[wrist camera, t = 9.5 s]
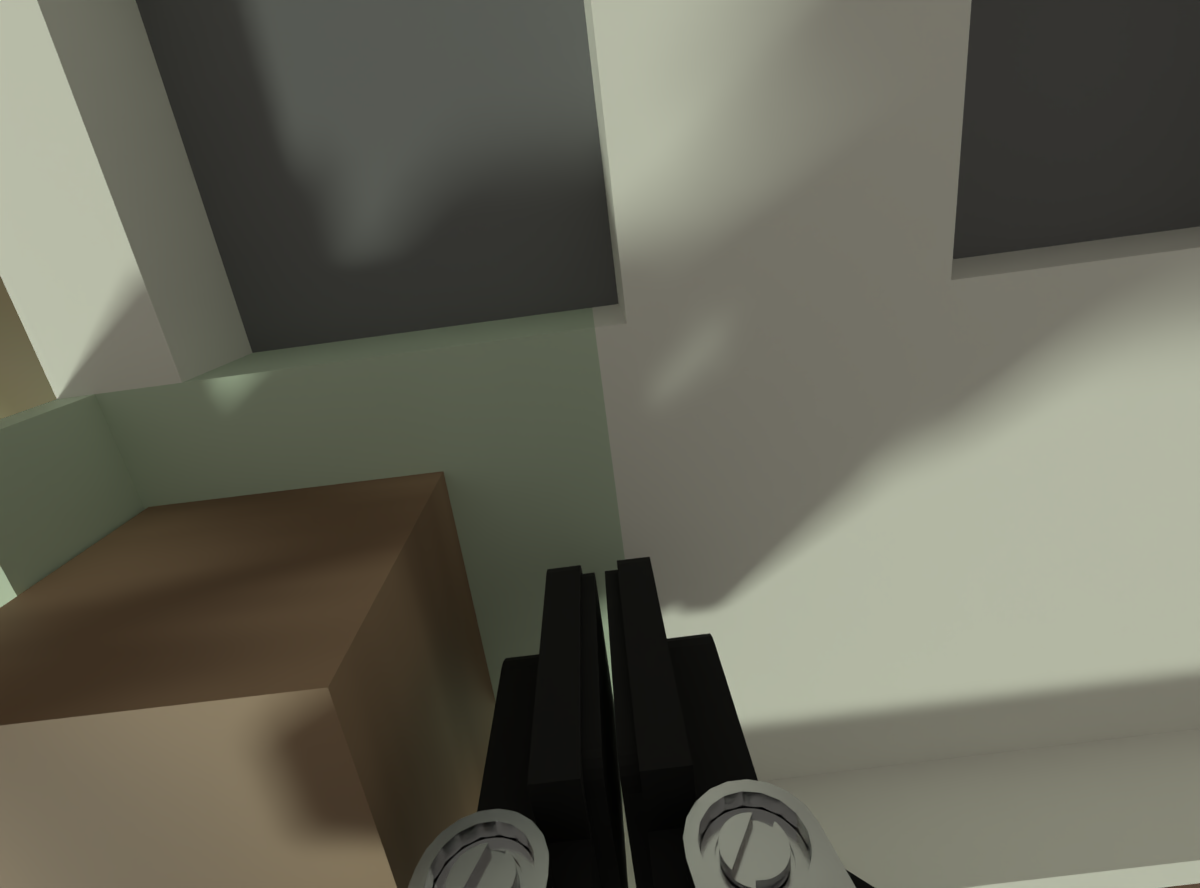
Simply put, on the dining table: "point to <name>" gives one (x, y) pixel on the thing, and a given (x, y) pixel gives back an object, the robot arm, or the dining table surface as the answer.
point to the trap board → (678, 356)
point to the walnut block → (246, 696)
